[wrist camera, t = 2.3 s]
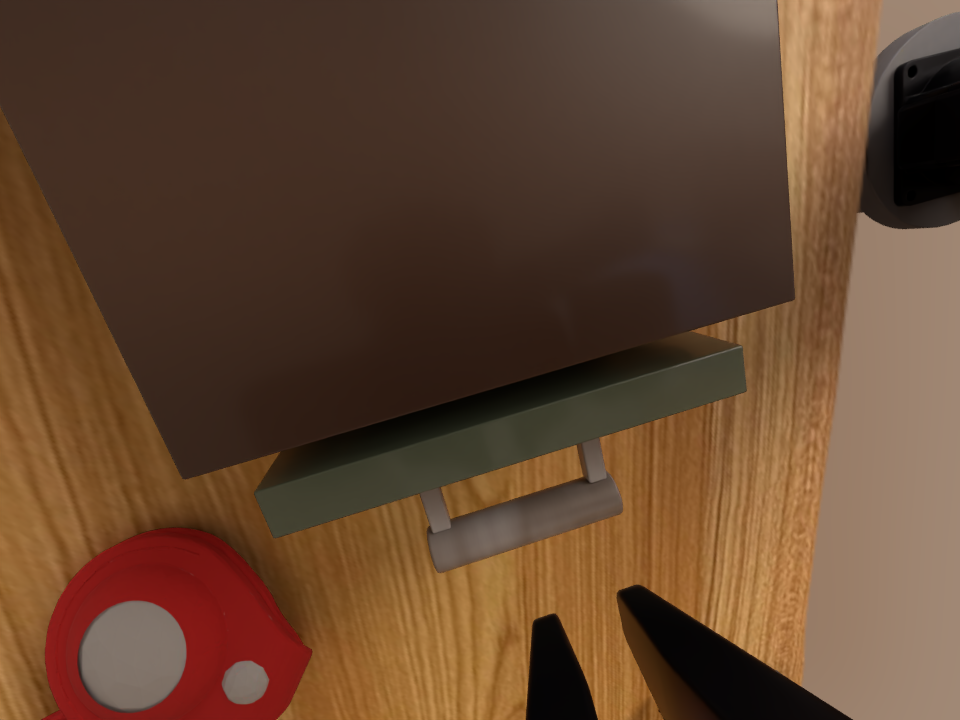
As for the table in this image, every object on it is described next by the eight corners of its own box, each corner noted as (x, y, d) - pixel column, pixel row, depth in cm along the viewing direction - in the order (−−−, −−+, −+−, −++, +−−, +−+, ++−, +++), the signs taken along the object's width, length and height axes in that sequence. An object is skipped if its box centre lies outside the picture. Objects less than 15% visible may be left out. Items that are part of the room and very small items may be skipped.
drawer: (624, 428, 19) (761, 540, 12) (367, 508, 18) (338, 686, 11) (524, -128, 14) (657, -567, 7) (159, -58, 13) (-183, -483, 6)
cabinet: (602, 277, 18) (796, 300, 9) (303, 360, 17) (181, 481, 8) (512, -234, 14) (710, -1165, 5) (105, -166, 13) (-644, -1203, 4)
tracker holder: (70, 503, 16) (322, 611, 16) (156, 479, 20) (354, 564, 20) (-95, 839, 15) (172, 956, 15) (33, 737, 19) (240, 828, 19)
